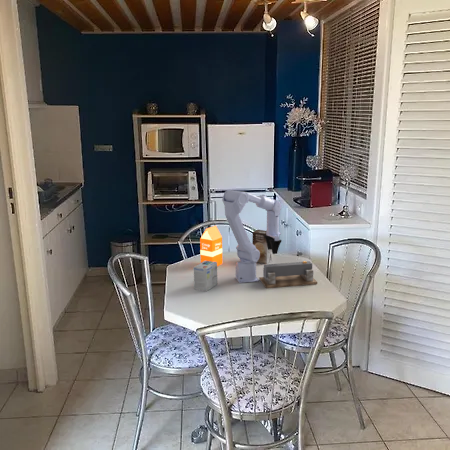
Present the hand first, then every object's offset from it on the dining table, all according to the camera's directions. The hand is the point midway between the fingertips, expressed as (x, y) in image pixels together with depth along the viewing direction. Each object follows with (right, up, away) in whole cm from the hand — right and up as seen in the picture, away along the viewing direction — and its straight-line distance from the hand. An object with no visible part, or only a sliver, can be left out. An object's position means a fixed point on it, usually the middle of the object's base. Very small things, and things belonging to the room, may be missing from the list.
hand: (272, 251), depth 230 cm
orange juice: (-30, -8, +14) cm, 34 cm away
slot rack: (+6, -13, -11) cm, 18 cm away
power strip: (+6, -10, -12) cm, 17 cm away
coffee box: (-3, -6, +20) cm, 21 cm away
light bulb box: (-32, -15, -17) cm, 39 cm away
